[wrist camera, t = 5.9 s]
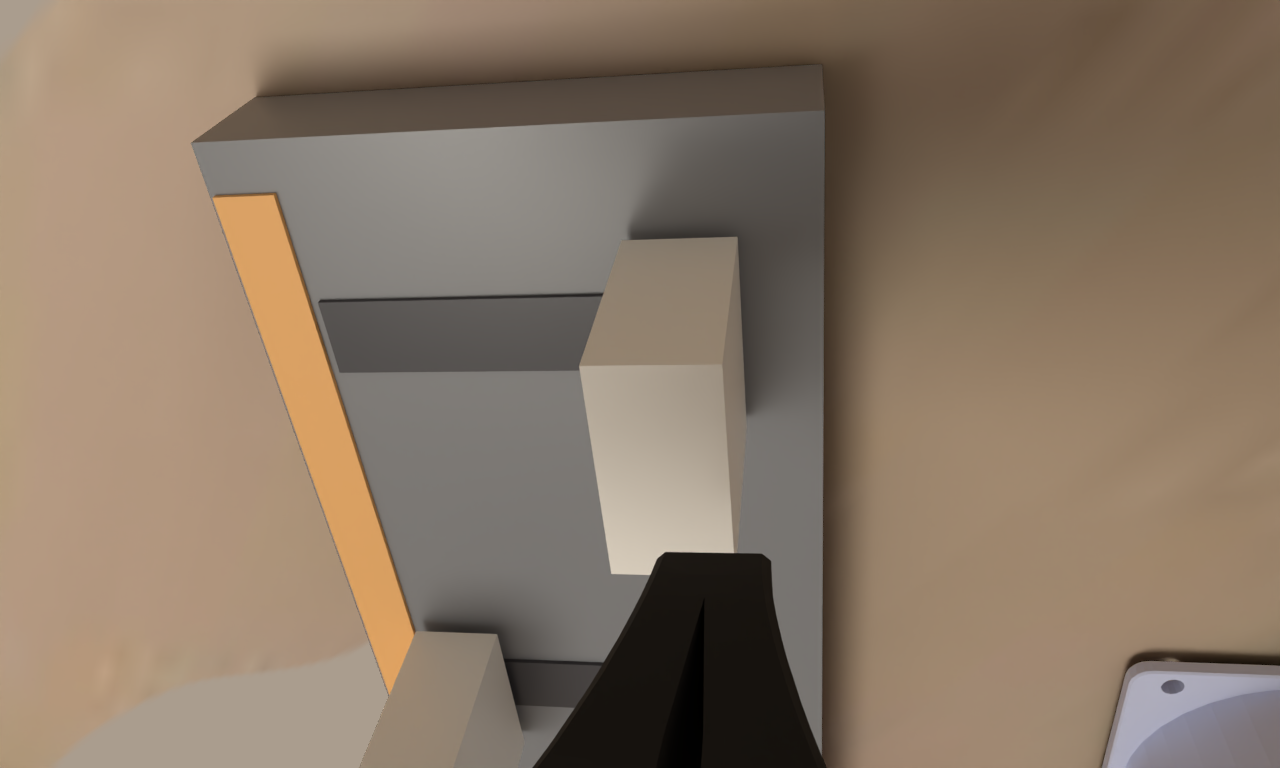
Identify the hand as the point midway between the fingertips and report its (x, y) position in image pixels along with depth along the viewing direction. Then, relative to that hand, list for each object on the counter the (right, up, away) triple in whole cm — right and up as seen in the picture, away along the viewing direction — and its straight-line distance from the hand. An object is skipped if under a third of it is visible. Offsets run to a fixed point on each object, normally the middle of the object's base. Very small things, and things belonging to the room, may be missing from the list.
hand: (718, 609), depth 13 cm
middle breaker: (-5, -5, +12) cm, 14 cm away
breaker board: (-2, -3, +14) cm, 14 cm away
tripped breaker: (0, +4, +5) cm, 7 cm away
